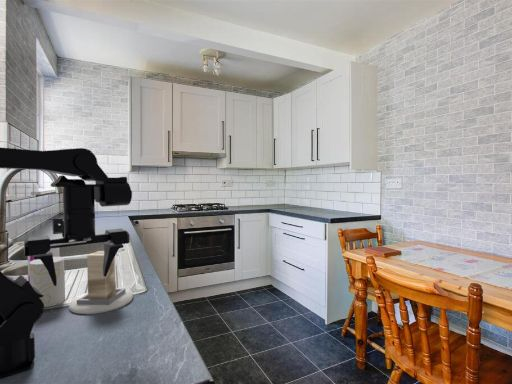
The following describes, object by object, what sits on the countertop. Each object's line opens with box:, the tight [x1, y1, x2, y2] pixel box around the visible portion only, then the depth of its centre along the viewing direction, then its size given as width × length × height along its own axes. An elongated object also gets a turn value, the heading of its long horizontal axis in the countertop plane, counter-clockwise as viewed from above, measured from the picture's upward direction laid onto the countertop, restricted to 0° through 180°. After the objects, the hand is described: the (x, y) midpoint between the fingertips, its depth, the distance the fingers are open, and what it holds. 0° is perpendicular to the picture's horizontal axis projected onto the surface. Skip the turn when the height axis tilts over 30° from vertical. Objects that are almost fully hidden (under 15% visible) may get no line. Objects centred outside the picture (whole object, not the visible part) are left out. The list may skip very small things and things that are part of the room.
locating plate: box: [68, 281, 133, 315], centre depth 83 cm, size 16×16×4 cm
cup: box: [29, 256, 66, 308], centre depth 83 cm, size 8×8×12 cm
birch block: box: [86, 250, 116, 299], centre depth 83 cm, size 5×5×13 cm
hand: (81, 280), depth 62 cm, fingers open, 9 cm apart
